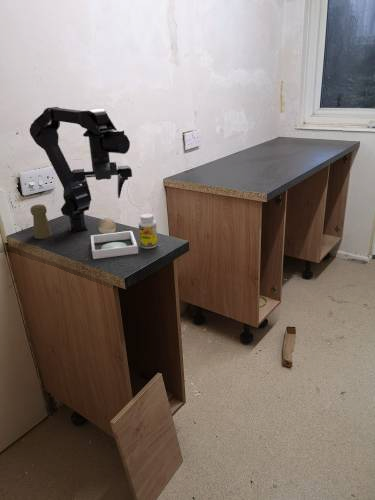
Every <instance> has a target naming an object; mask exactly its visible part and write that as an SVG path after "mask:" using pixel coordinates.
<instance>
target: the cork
mask: <svg viewBox="0 0 375 500" xmlns="http://www.w3.org/2000/svg"><path fill="white" fill-rule="evenodd" d="M47 212H48V210H47V207H46V206H45V205H44V204H41V203H40V204H33V205H31V207H30V214H31V215H32V216H33V217H32V219H33V220H32V221H33V237H34V239H36V240H37V239H38V240H43V239H48V238H50V237H52V236H53V232H52V230H51V226H50V223H49V220H48V217H47Z"/></svg>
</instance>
